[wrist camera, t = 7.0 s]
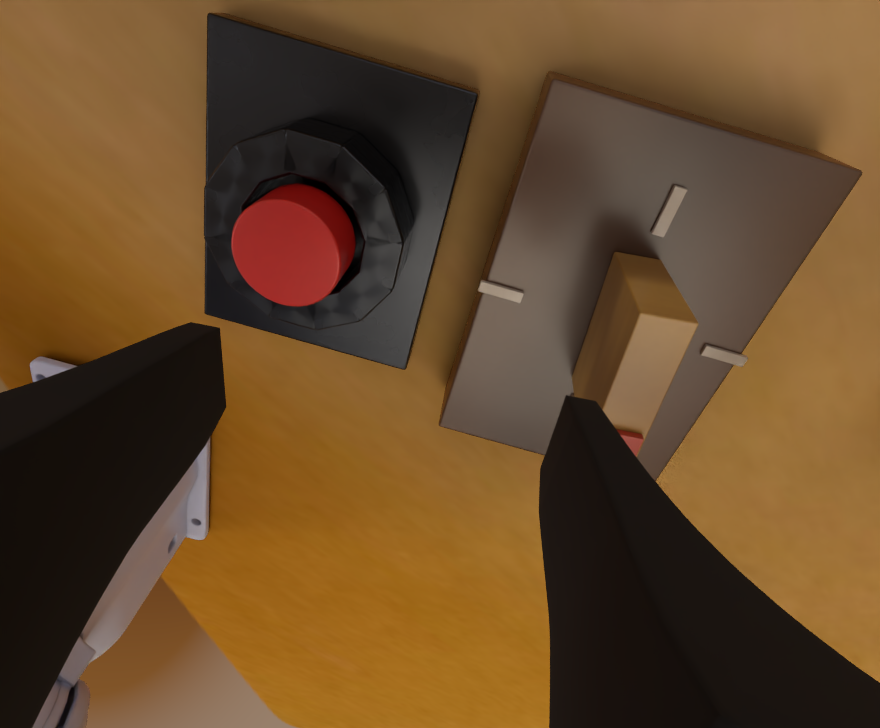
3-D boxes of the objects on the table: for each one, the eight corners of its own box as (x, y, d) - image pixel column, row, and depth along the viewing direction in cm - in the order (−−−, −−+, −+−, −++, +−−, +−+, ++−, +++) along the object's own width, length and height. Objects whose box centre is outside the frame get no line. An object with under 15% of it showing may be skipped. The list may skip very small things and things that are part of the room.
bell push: (409, 357, 22) (395, 401, 19) (215, 302, 22) (175, 340, 19) (480, 89, 16) (474, 102, 14) (222, 12, 16) (167, 10, 14)
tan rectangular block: (614, 250, 16) (641, 317, 12) (661, 259, 16) (702, 328, 12) (571, 378, 18) (583, 463, 15) (611, 385, 18) (634, 473, 15)
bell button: (348, 295, 18) (332, 320, 16) (252, 267, 18) (228, 290, 16) (364, 200, 16) (348, 218, 14) (258, 169, 16) (232, 184, 14)
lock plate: (825, 153, 16) (874, 174, 14) (644, 444, 23) (657, 490, 20) (543, 68, 16) (546, 76, 14) (441, 387, 22) (433, 428, 20)
